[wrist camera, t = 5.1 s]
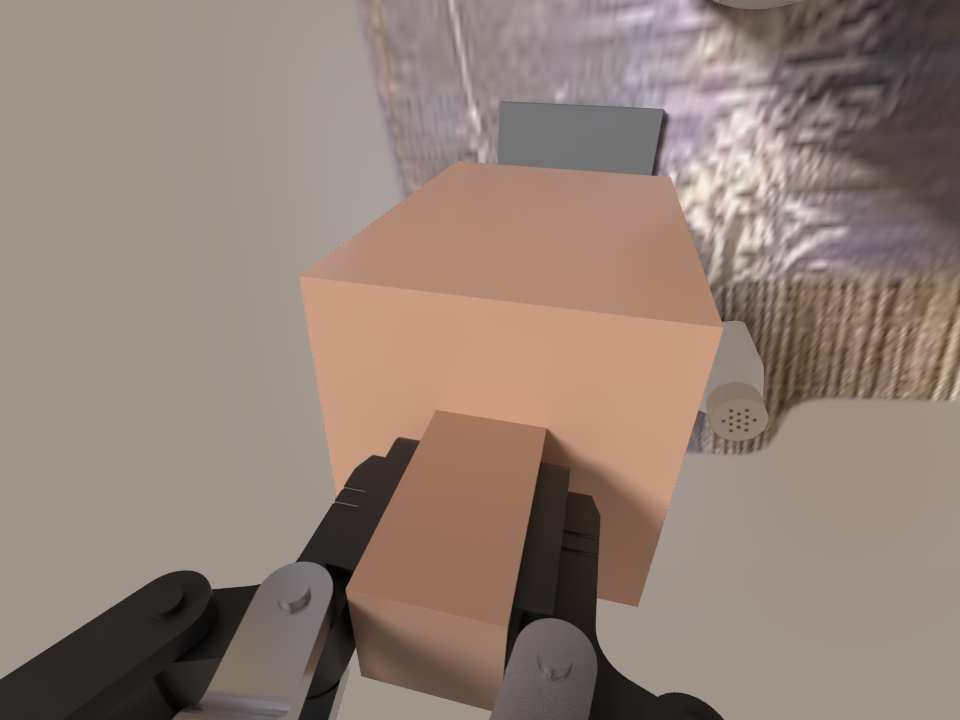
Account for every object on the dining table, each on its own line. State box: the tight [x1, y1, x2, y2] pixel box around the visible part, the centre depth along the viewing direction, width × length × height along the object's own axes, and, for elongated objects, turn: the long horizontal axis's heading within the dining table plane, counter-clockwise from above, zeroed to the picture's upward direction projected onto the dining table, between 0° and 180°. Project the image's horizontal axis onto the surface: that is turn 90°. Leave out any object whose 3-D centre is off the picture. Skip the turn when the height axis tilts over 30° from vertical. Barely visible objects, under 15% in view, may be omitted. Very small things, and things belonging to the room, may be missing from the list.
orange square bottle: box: [299, 161, 724, 711], centre depth 16 cm, size 9×9×18 cm
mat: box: [498, 101, 663, 176], centre depth 35 cm, size 10×10×1 cm
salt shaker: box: [699, 320, 769, 441], centre depth 35 cm, size 4×4×10 cm
